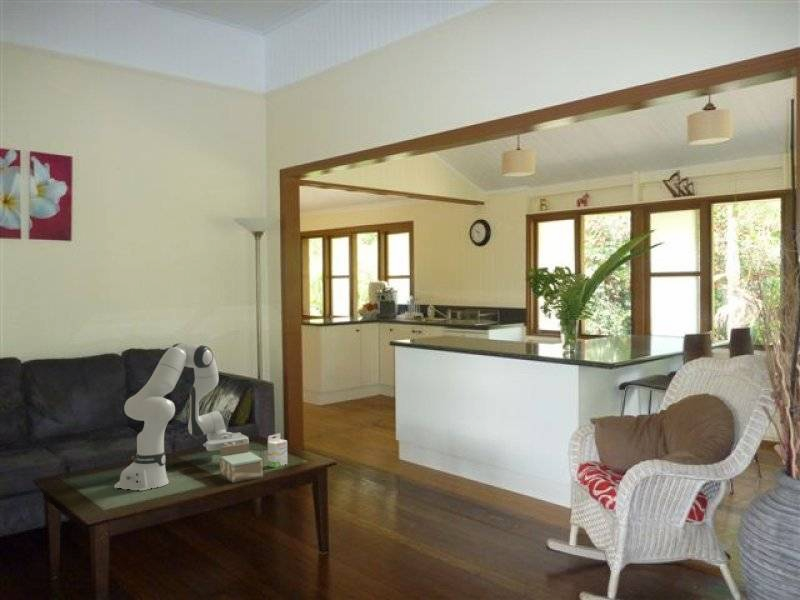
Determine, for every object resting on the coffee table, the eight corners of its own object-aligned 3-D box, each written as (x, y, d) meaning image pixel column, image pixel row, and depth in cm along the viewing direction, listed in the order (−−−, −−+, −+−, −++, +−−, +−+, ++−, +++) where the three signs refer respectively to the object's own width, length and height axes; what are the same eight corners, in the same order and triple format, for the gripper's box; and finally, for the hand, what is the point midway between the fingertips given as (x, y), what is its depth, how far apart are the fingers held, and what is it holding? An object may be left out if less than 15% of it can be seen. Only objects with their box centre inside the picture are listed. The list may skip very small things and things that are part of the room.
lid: (219, 457, 303) (219, 447, 303) (248, 452, 311) (248, 442, 311) (232, 466, 288) (232, 455, 288) (262, 461, 296) (262, 450, 296)
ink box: (274, 468, 310) (274, 437, 310) (267, 466, 313) (266, 436, 313) (288, 464, 317) (287, 433, 317) (281, 462, 320) (280, 432, 320)
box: (220, 473, 304) (219, 458, 303) (249, 468, 311) (248, 453, 311) (232, 482, 288) (232, 467, 288) (262, 477, 296) (262, 461, 296)
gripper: (201, 437, 316) (210, 443, 304) (242, 431, 327) (252, 437, 315) (202, 450, 316) (210, 456, 304) (243, 444, 327) (252, 450, 315)
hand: (232, 446), depth 310 cm, fingers closed
